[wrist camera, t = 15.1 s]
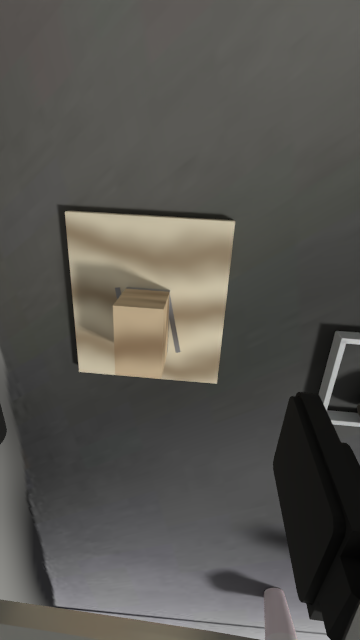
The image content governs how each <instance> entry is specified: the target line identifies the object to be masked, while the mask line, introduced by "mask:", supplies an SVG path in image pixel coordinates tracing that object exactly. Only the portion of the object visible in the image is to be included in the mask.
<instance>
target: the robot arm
mask: <svg viewBox="0 0 360 640" xmlns="http://www.w3.org/2000/svg"><path fill="white" fill-rule="evenodd" d="M6 430H7V429H6V425H5V421H4V416H3V412H2V408H1V405H0V444H1V443H2V441H3V440H4V438H5V436H6ZM273 470H274V475H275V481H276V486H277V491H278V496H279V501H280V506H281V511H282V517H283V522H284V527H285V532H286V537H287V542H288V547H289V553H290V558H291V563H292V568H293V573H294V578H295V583H296V589H297V593H298V597H299V600H300V601H301V602H303V603H306V604H307V608H308V613H309V618H310V619H312V620H319V621H324V625H325V629H326V633H327V636H328V637H329V638H330V639H331V640H360V465H359V463H358V461H357V459H356V457H355V455H354V453H353V451H352V449H351V448H350V446H349V445H348V444H347V443H341V442H340V440H339V437H338V435H337V433H336V431H335V428H334V426H333V424H332V422H331V420H330V417H329V415H328V413H327V411H326V409H325V406H324V404H323V402H322V400H321V398H320V396H319V395H318V394H313V393H303V392H298V393H297V394H296V397H293V396H291V397H290V399H289V402H288V406H287V410H286V414H285V417H284V421H283V425H282V429H281V433H280V437H279V441H278V444H277V448H276V452H275V456H274V461H273ZM0 640H259V639H253V638H247V637H241V636H236V635H230V634H224V633H218V632H212V631H206V630H200V629H193V628H187V627H180V626H174V625H167V624H160V623H154V622H147V621H141V620H134V619H128V618H121V617H114V616H108V615H101V614H95V613H88V612H81V611H74V610H67V609H61V608H54V607H47V606H40V605H33V604H27V603H20V602H12V601H6V600H0Z"/></svg>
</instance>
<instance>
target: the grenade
mask: <svg viewBox="0 0 360 640" xmlns="http://www.w3.org/2000/svg"><path fill="white" fill-rule="evenodd" d="M357 411H358V415H359V417H360V403H359V404H358V406H357Z"/></svg>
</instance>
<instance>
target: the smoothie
mask: <svg viewBox="0 0 360 640" xmlns="http://www.w3.org/2000/svg"><path fill="white" fill-rule="evenodd" d="M264 612H265V640H298V639H297V635H296V632H295V629H294V625H293V622H292V618H291V615H290V611H289V608H288V605H287V601H286V598H285V594H284V592H283V590H281V589H279V588H268V589H266V590H265V591H264Z"/></svg>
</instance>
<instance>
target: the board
mask: <svg viewBox="0 0 360 640" xmlns="http://www.w3.org/2000/svg"><path fill="white" fill-rule="evenodd" d="M65 220H66V231H67V242H68V253H69V264H70V275H71V286H72V297H73V308H74V319H75V331H76V342H77V353H78V364H79V372H88V373H99V374H111V375H115V355H114V326H113V305H114V303H115V302H116V301H117V299H118V298H119V297H120V295H121V294H122V293H123V292H124V290H125V289H126V288H127V287H133V288H147V289H160V290H170V307H169V331H168V352H167V357H166V361H165V365H164V369H163V374H162V378H161V379H169V380H180V381H192V382H203V383H215V384H217V377H218V369H219V360H220V351H221V342H222V333H223V324H224V315H225V306H226V298H227V289H228V280H229V271H230V262H231V253H232V244H233V235H234V227H235V221H234V220H220V219H203V218H186V217H169V216H152V215H136V214H119V213H102V212H85V211H65ZM122 376H123V375H122Z"/></svg>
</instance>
